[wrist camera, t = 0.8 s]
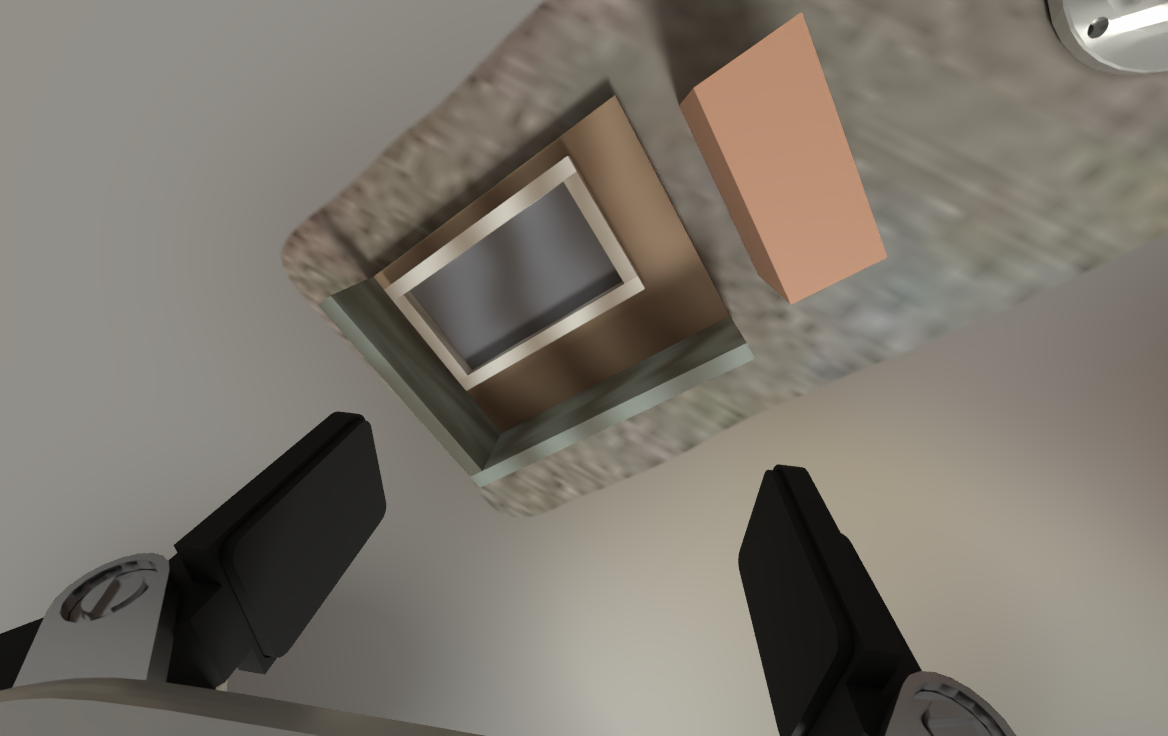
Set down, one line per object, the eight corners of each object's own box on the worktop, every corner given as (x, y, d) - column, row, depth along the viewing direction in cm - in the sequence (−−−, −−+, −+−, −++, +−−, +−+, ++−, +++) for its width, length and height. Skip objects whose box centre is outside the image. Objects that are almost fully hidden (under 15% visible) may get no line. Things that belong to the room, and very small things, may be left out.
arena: (615, 97, 26) (610, 80, 21) (734, 324, 31) (754, 358, 26) (369, 281, 33) (318, 304, 27) (501, 442, 38) (479, 487, 33)
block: (678, 105, 26) (693, 87, 20) (758, 50, 24) (801, 11, 18) (757, 274, 30) (791, 304, 23) (831, 236, 28) (887, 257, 22)
